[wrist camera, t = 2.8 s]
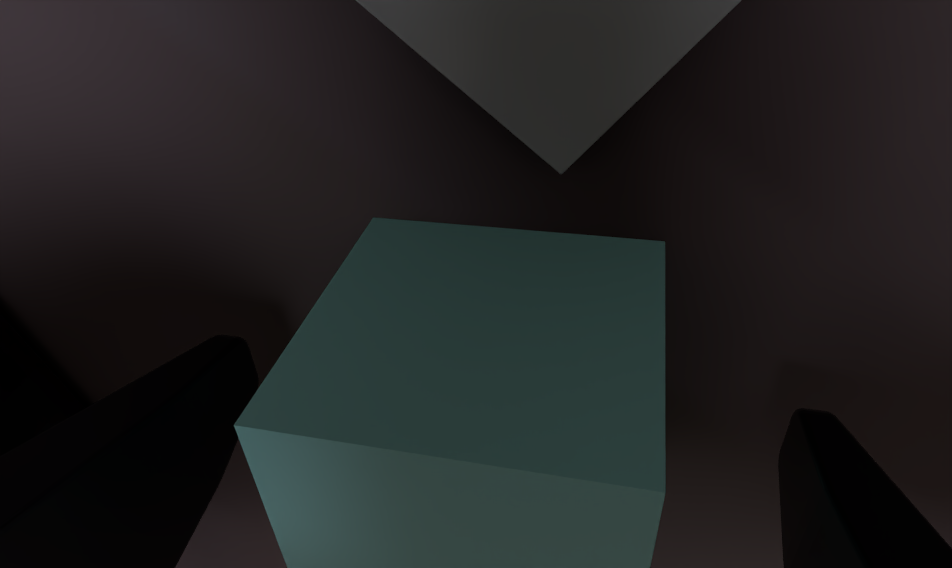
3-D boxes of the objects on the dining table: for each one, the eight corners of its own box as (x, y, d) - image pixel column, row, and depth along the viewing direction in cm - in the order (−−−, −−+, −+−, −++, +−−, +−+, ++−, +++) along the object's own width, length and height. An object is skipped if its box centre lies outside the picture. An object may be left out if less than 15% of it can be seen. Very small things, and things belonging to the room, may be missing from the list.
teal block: (634, 442, 11) (623, 700, 8) (404, 409, 12) (312, 632, 9) (664, 237, 9) (665, 492, 6) (375, 214, 10) (234, 425, 6)
